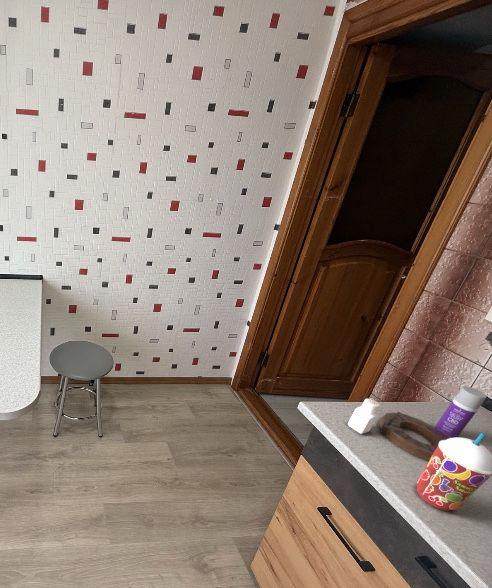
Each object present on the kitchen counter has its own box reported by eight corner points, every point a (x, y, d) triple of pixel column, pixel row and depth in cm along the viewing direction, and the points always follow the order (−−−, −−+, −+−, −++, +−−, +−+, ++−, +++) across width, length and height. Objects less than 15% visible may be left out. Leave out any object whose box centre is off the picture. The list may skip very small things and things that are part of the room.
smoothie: (441, 520, 71) (496, 453, 62) (399, 484, 78) (444, 420, 70) (469, 514, 72) (526, 448, 64) (426, 479, 80) (472, 416, 72)
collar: (459, 448, 90) (464, 441, 89) (445, 473, 82) (450, 466, 81) (389, 412, 101) (393, 406, 100) (371, 431, 93) (375, 424, 92)
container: (436, 433, 94) (465, 392, 88) (432, 424, 98) (459, 383, 92) (459, 442, 92) (490, 400, 86) (454, 432, 96) (483, 391, 89)
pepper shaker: (355, 421, 96) (369, 396, 92) (369, 432, 93) (385, 406, 89) (346, 424, 95) (360, 398, 91) (360, 435, 92) (376, 408, 88)
